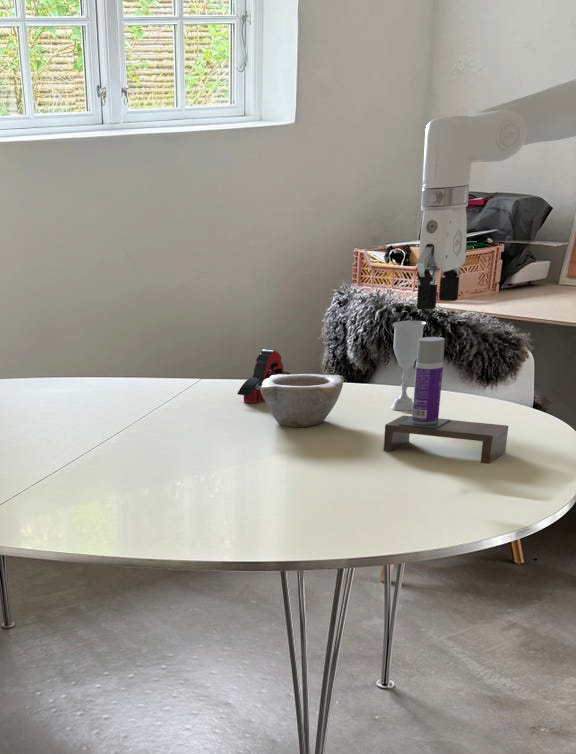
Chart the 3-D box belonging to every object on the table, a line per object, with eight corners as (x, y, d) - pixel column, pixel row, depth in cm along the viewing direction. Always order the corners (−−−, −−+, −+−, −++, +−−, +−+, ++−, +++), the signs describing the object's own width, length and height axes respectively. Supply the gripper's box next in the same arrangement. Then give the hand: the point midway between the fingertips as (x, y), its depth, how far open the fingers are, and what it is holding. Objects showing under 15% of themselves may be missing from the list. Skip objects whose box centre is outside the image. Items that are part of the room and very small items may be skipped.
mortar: (346, 413, 209) (348, 371, 205) (334, 432, 195) (336, 387, 191) (270, 412, 215) (271, 371, 211) (253, 430, 201) (253, 387, 197)
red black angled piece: (247, 405, 222) (247, 356, 217) (237, 403, 225) (236, 355, 220) (298, 391, 232) (299, 344, 227) (287, 390, 234) (288, 343, 230)
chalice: (414, 412, 205) (421, 326, 198) (383, 410, 209) (388, 325, 201) (422, 405, 211) (429, 320, 203) (391, 403, 214) (397, 320, 206)
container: (442, 423, 176) (449, 339, 169) (417, 425, 176) (423, 342, 169) (432, 417, 180) (439, 336, 173) (408, 419, 180) (414, 338, 173)
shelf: (505, 452, 174) (508, 424, 172) (489, 463, 169) (492, 434, 167) (401, 440, 186) (403, 414, 184) (383, 450, 181) (385, 423, 179)
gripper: (446, 202, 153) (438, 312, 161) (485, 193, 164) (476, 297, 172) (401, 204, 158) (396, 312, 165) (443, 196, 169) (436, 297, 177)
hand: (437, 304), depth 169 cm, fingers open, 9 cm apart
